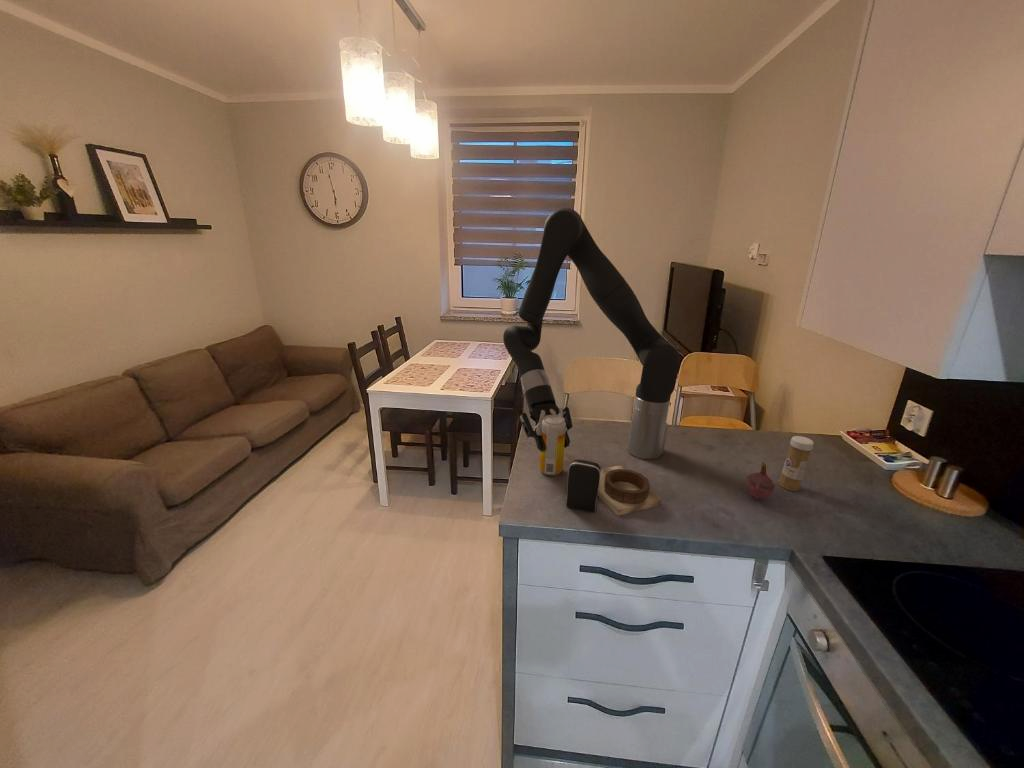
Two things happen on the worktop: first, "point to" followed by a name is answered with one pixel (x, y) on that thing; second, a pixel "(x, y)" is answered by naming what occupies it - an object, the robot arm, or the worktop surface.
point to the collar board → (628, 487)
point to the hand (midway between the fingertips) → (555, 448)
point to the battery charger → (583, 485)
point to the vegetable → (760, 484)
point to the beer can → (553, 444)
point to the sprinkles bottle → (796, 463)
